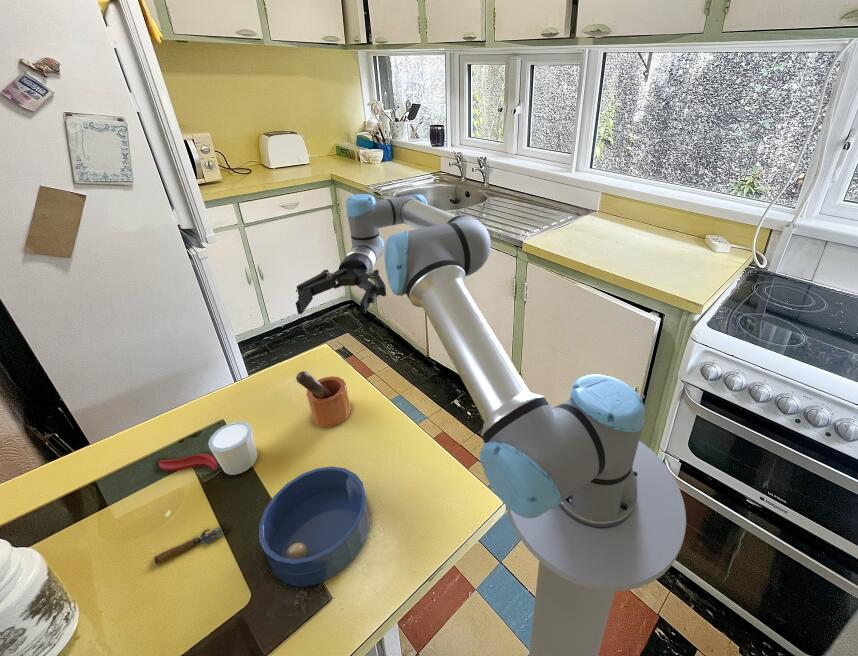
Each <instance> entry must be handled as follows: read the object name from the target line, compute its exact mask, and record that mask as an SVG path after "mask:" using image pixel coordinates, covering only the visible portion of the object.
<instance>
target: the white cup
mask: <svg viewBox="0 0 858 656" xmlns="http://www.w3.org/2000/svg"><path fill="white" fill-rule="evenodd" d="M207 444H208V448H209V451H210V452H211V453H212V456H213V457H214V459H215V460H216V462H217V464H219V466H220V468H221V469H222V471H223V473H225V474H227V475H230V476H231V475H232V476H235V475H239V474H242V473H244V472H246V471H248V470H249V469H250V468H251V467H253V466H254V465H255V463H256V461H257V459H258V453H257V448H256V443H255V438H254V433H253V428H252V426H251V424H250V423H249V422H246V421H233V422H230V423H228V424H225V425H223V426H221V427H219V429H217V430H215V431H214V432H213V434H212V435H211V436H210V437H209V439H208V443H207Z"/></svg>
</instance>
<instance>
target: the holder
mask: <svg viewBox="0 0 858 656" xmlns="http://www.w3.org/2000/svg"><path fill="white" fill-rule="evenodd" d="M316 380H317V381H318V382H319V383H321V384H322V385H323V386H324V387H325V388H327V389H328V390H329V391H330V392H331V393H333V394H334V395H333V396H331V397H329V398H324V399H320V398H319V397H317V396H316V395H315V394H313V393H312V392H310V391H309V390H308V389H306V399H307V402H308V403H307V404H308V407H309V411H310V414H311V418H312V420H313V423H314V424H315V425H316V426H318V427H321V428H330V427H331V428H332V427H334V426H337V425H339V424H341V423H343V422H344V421H345V420H346V419H347V418H348V417H349V416H350V414H351V404H350V397H349V394H348V393H349V392H348V388H347V383H346V382H345V380H344V379H343V378H341V377H339V376H333V375H332V376H331V375H330V376H324V377H322V378H320V379H316Z"/></svg>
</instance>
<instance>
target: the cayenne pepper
mask: <svg viewBox="0 0 858 656" xmlns="http://www.w3.org/2000/svg"><path fill="white" fill-rule="evenodd" d="M158 466H159V469H160V470H163V471H165V472H177V471H178V472H179V471H183V470H187V469H192V468H196V467H209V468H211V469H212V470H213V471H214V472H216V471H217V470H218V461H217V459H216V458H215V456H213V455H211V454H209V453H198V454H193V455H189V456H185V457H182V458H174V459H165V460H164V459H160V460H159V461H158Z"/></svg>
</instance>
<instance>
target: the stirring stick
mask: <svg viewBox="0 0 858 656" xmlns="http://www.w3.org/2000/svg"><path fill="white" fill-rule="evenodd" d="M295 378H296V379H295V380H296V382H297V383H298V384H299V385H301V386H302V387H304V389H306V390H309V391H310V392H312V393H313V394H315V395H316V396H317V397H319V398H320V399H324V398H329V397H331V396H333V395H334V394H333V393H331V392H330V391H329V390H328V389H327V388H325V387H324V386H323V385H322V384H321V383H319V382H318V381H317V380H318V379H316V378H315V377H314V376H312V375H311V374H310V373H309V372H308V371H305V370H303V371H300V372H298V373H297V375H296V377H295Z"/></svg>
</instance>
